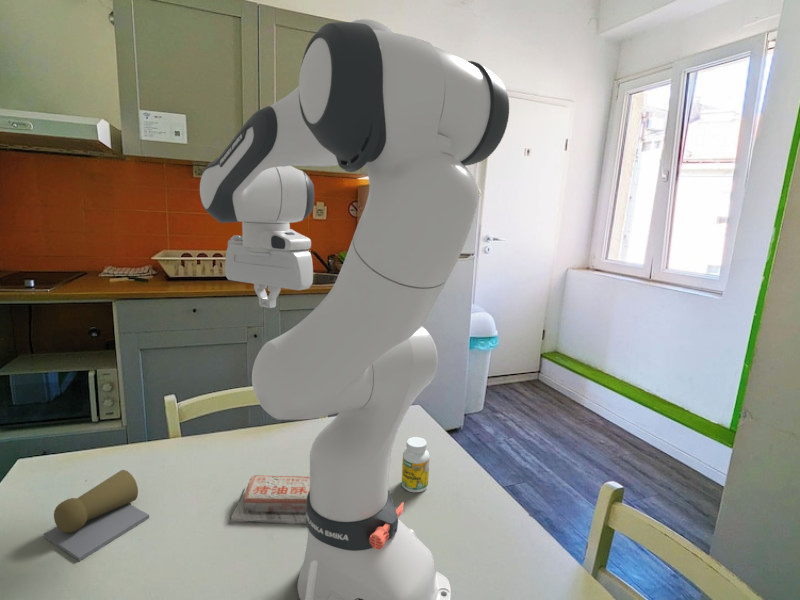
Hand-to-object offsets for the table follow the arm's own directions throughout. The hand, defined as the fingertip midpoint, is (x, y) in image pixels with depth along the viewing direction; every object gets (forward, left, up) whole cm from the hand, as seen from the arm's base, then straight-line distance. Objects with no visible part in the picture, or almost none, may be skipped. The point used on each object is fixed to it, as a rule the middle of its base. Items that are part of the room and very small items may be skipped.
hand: (267, 306), depth 87 cm
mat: (+10, +29, -34) cm, 46 cm away
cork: (+13, +23, -31) cm, 40 cm away
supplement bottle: (-31, -8, -34) cm, 47 cm away
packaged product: (-13, +9, -35) cm, 38 cm away
